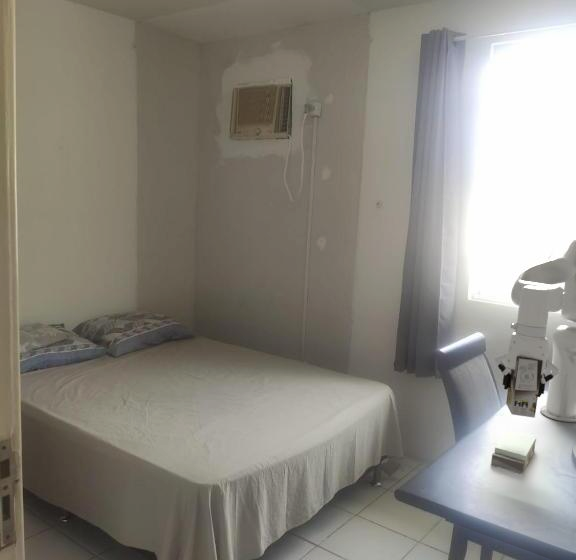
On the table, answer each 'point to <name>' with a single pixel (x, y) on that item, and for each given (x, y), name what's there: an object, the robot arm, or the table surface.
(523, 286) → the robot arm
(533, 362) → the coffee box
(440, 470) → the table surface
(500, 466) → the grayish brown block
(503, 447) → the pale green tile
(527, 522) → the table surface
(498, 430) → the table surface
